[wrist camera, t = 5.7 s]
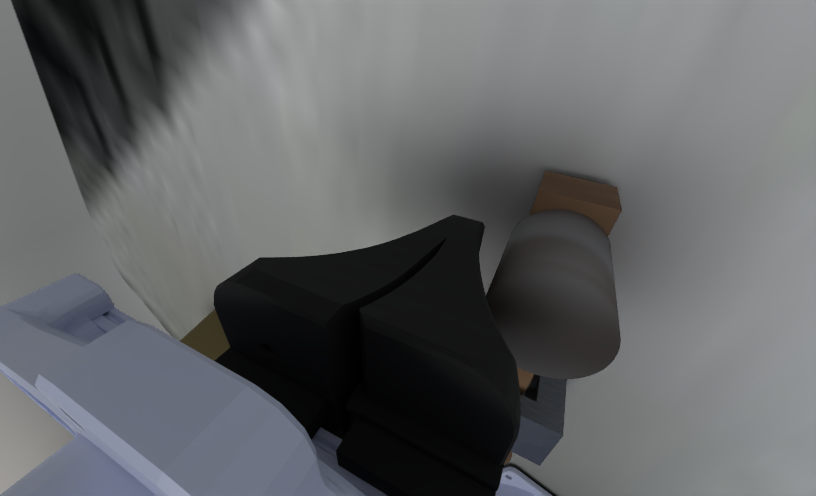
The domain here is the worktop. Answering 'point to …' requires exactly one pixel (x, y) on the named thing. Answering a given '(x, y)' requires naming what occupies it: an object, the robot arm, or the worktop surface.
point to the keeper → (541, 418)
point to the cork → (208, 337)
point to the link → (560, 283)
